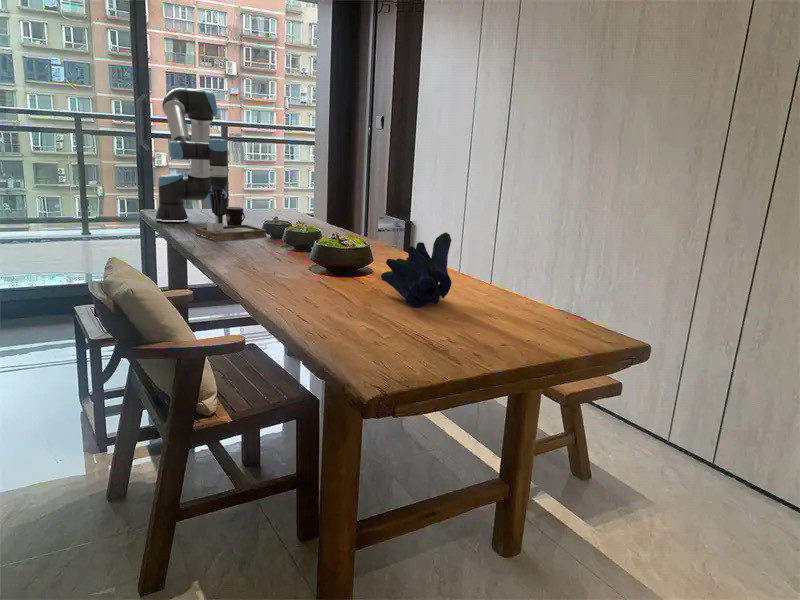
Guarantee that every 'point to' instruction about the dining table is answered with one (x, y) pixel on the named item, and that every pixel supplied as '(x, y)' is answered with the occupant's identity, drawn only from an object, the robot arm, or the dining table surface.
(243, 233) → the tray
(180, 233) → the dining table surface
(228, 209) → the coffee mug
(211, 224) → the block
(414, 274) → the dark blue branching piece
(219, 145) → the robot arm
